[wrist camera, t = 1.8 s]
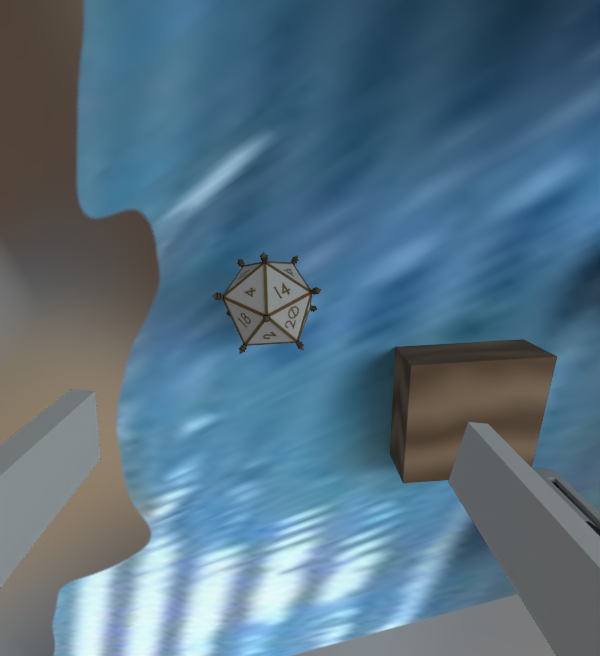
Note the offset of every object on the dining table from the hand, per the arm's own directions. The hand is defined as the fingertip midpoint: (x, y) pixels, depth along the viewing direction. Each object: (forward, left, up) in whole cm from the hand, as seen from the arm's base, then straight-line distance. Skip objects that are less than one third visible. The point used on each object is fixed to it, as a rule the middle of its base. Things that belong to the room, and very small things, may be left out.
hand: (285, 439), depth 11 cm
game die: (-1, -1, -22) cm, 22 cm away
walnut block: (+9, +21, -23) cm, 32 cm away
